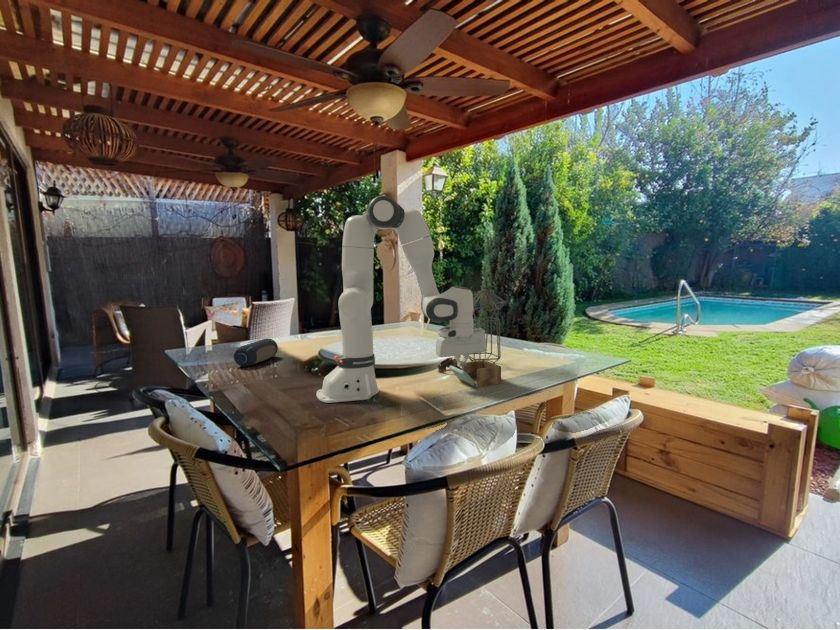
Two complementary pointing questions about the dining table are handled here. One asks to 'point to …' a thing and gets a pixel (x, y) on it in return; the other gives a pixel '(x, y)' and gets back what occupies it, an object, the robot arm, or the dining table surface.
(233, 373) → the dining table surface
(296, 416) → the dining table surface
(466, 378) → the panel
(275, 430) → the dining table surface
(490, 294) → the geometric lantern
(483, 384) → the crate
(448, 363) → the dark brown arch
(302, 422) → the dining table surface
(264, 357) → the portable speaker
